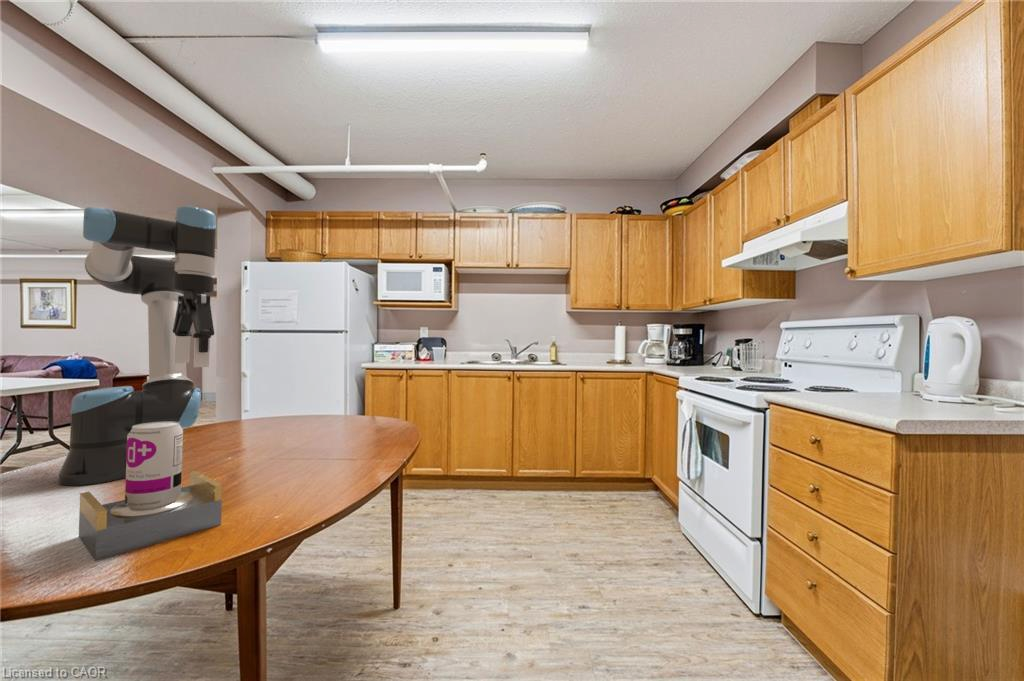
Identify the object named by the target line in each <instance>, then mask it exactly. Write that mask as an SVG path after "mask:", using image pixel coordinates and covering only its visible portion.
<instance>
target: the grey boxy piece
mask: <svg viewBox="0 0 1024 681" xmlns="http://www.w3.org/2000/svg"><path fill="white" fill-rule="evenodd" d="M222 496H223V484H222V483H220V482H218V481H216V480H214V479H213V478H211V477H210V476H207V475H206V474H204V473H201V472H200V471H198V470H195V471H190V472H189V485H188V486H184V487H182V486H181V496H180V497H178V498H177V500H176V501H174V502H172V503H170V504H168V505H164V506H161V507H156V508H151V509H139V510H136V509H131V508H129V507H128V506H126V505H125V499H123V500H117V501H114V502H108V503H104V504H101V502H100V500H98V499H97V498H96V497H95V496H94V495H93V494H92V492H90V491H85V492H81V493H79V512H78V513H79V516H78V538H79V539H80V541H81V543H82V544H83V545H84V547H85V548H86V549H87V551H88V553H89V554H90V556H91V557H92V558H93V560H94V561H95V562H98V561H102V560H104V559H108V558H111V557H115V556H118V555H121V554H124V553H128V552H131V551H136V550H138V549H142V548H145V547H149V546H151V545H155V544H159V543H162V542H166V541H170V540H172V539H175V538H179V537H183V536H186V535H190V534H194V533H196V532H199V531H203V530H207V529H210V528H214V527H218V526H221V525H222V505H223V504H222V503H223V501H222V500H223V497H222ZM97 560H98V561H97Z"/></svg>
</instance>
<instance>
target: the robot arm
mask: <svg viewBox="0 0 1024 681" xmlns="http://www.w3.org/2000/svg"><path fill="white" fill-rule="evenodd" d="M175 214H176V215H175V218H174V219H175V221H173V220H166V219H160V218H157V217H156V218H154V217H150V216H145V215H140V214H135V213H130V212H124V211H119V210H112V209H110V208H101V207H91V206H88V207H85V208H84V210H83V220H82V221H83V222H82V223H83V225H82V226H83V227H82V228H83V229H82V236H83V238H84V239H85V240H87V241H91V242H92V248H91V252H89V253H88V254H87V255H86V257H85V261H84V269H85V271H86V273H87V275H88V276H89V278H91V279H92V280H94V281H95V282H96V283H98V284H99V285H101V286H103V287H105V288H107V289H109V290H112V291H114V292H119V293H122V294H129V295H130V294H131V295H139V296H140V300H141V302H142V303H144V304H145V305H147V322H148V325H147V326H148V374H149V375H148V377H149V378H148V379H147V381H145V382H144V383H143V384H142V386H141V387H142V389H141V390H135V388H134V387H133V385H132V386H131V385H123V386H113V387H112V386H111V387H103V388H97V389H91V390H87V391H82V392H79V393H76V394H75V395H74V396H73V398H72V399H71V407H70V411H69V414H70V431H69V434H70V436H69V449H68V450H69V451H68V454H67V456H66V458H65V460H64V462H63V464H62V467H61V468H60V470H59V472H58V481H57V483H58V484H60V485H62V486H85V485H86V486H87V485H95V484H101V483H109V482H113V481H117V480H121V479H126V457H127V435H128V434H129V432H130V431H131V429H132V426H134V425H138V424H143V423H151V422H179V425H180V426H181V428H182V429H186V428H190V427H192V426H193V425H195V423H196V421H197V420H198V416H199V412H200V407H201V402H202V400H201V399H202V390H201V389H200V387H194V380H192V379H190V378H189V377H188V376H187V364H190V358H191V357H190V356H191V354H190V353H191V352H190V351H191V337H192V339H193V340H194V343H193V368H210V351H211V350H210V349H211V348H210V346H211V345H210V344H211V338H212V336H214V335H215V329H214V322H213V315H212V307H211V295H210V293H211V294H212V293H214V289H215V288H214V287H215V279H214V277H212V276H214V275H215V274H216V273H215V269H216V268H215V267H216V266H215V265H216V258H215V257H216V255H215V252H216V234H217V233H216V231H217V227H218V226H217V217H216V215H215V213H214V212H213V211H210V210H209V209H205V208H201V207H196V206H189V205H188V206H187V205H182V206H179V207H178V208H176V213H175ZM136 248H139V249H146V250H153V251H160V252H165V253H166V252H167V253H174V257H171V259H170V260H169V259H162V258H155V257H149V256H148V257H147V256H141V255H140V256H139V255H133V254H134V252H135V249H136ZM192 325H193V328H194V332H195V333H194V332H193V335H192V332H191V329H192Z"/></svg>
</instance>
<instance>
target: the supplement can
mask: <svg viewBox="0 0 1024 681" xmlns="http://www.w3.org/2000/svg"><path fill="white" fill-rule="evenodd" d="M183 435H184V428H181V426H180V425H179V422H151V423H143V424H138V425H134V426H132V429H131V431H130V432H129V434H128V435H127V457H126V477H125V489H124V491H125V493H124V500H125V505H126V506H128V507H129V508H131V509H136V510H139V509H151V508H156V507H161V506H164V505H168V504H170V503H172V502H174V501H176V500H177V498H178V497H180V496H181V488H182V472H183V470H182V468H183V440H184V439H183V438H184V436H183Z"/></svg>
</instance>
